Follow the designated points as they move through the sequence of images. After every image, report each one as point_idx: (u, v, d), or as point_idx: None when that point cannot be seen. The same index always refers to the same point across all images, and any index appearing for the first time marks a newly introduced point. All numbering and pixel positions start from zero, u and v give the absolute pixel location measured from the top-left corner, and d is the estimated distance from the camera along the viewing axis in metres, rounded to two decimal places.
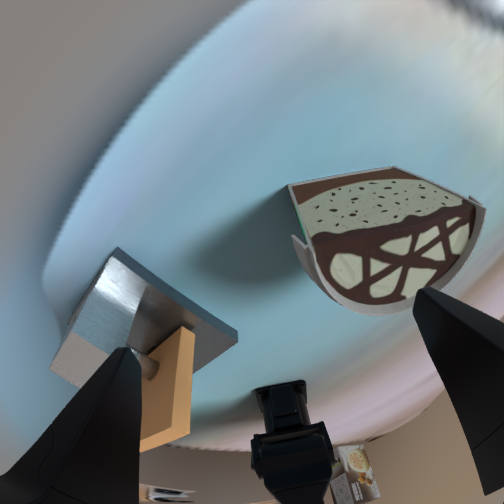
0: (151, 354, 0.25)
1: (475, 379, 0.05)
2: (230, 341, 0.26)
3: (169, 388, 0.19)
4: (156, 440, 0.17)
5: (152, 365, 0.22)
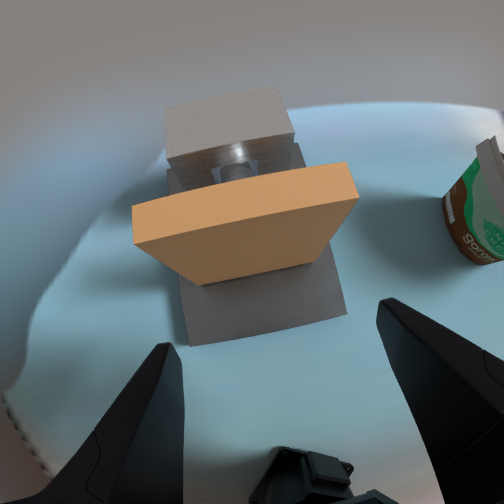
0: None
1: (435, 401, 0.05)
2: (339, 307, 0.19)
3: None
4: (264, 193, 0.09)
5: None
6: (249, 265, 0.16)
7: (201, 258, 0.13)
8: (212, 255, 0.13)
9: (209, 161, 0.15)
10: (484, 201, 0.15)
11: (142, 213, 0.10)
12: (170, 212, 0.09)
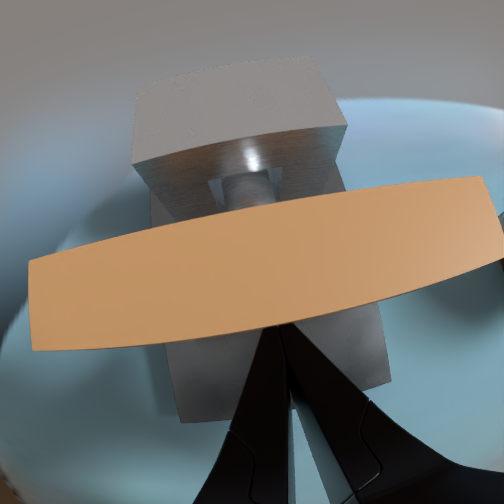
0: None
1: (315, 444, 0.05)
2: (382, 373, 0.12)
3: None
4: (337, 244, 0.03)
5: None
6: None
7: None
8: None
9: (204, 168, 0.09)
10: None
11: (44, 281, 0.04)
12: (94, 287, 0.03)
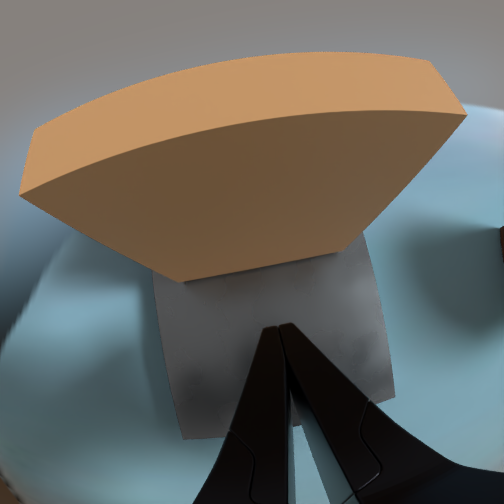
0: None
1: (315, 444, 0.05)
2: (386, 389, 0.12)
3: None
4: (289, 78, 0.04)
5: None
6: (251, 252, 0.10)
7: (166, 235, 0.07)
8: (185, 229, 0.07)
9: None
10: None
11: (44, 137, 0.04)
12: (88, 126, 0.04)
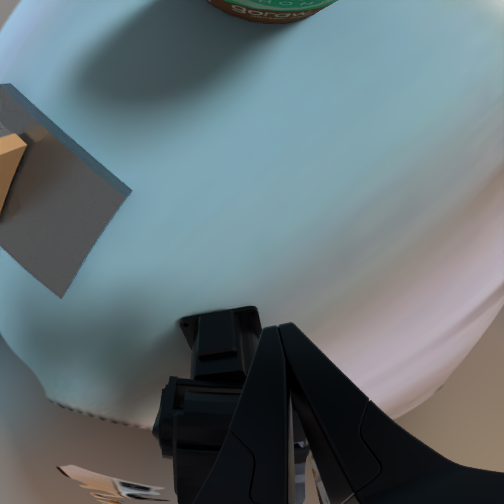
0: None
1: (315, 444, 0.05)
2: (114, 197, 0.16)
3: None
4: None
5: None
6: None
7: None
8: None
9: None
10: None
11: None
12: None
